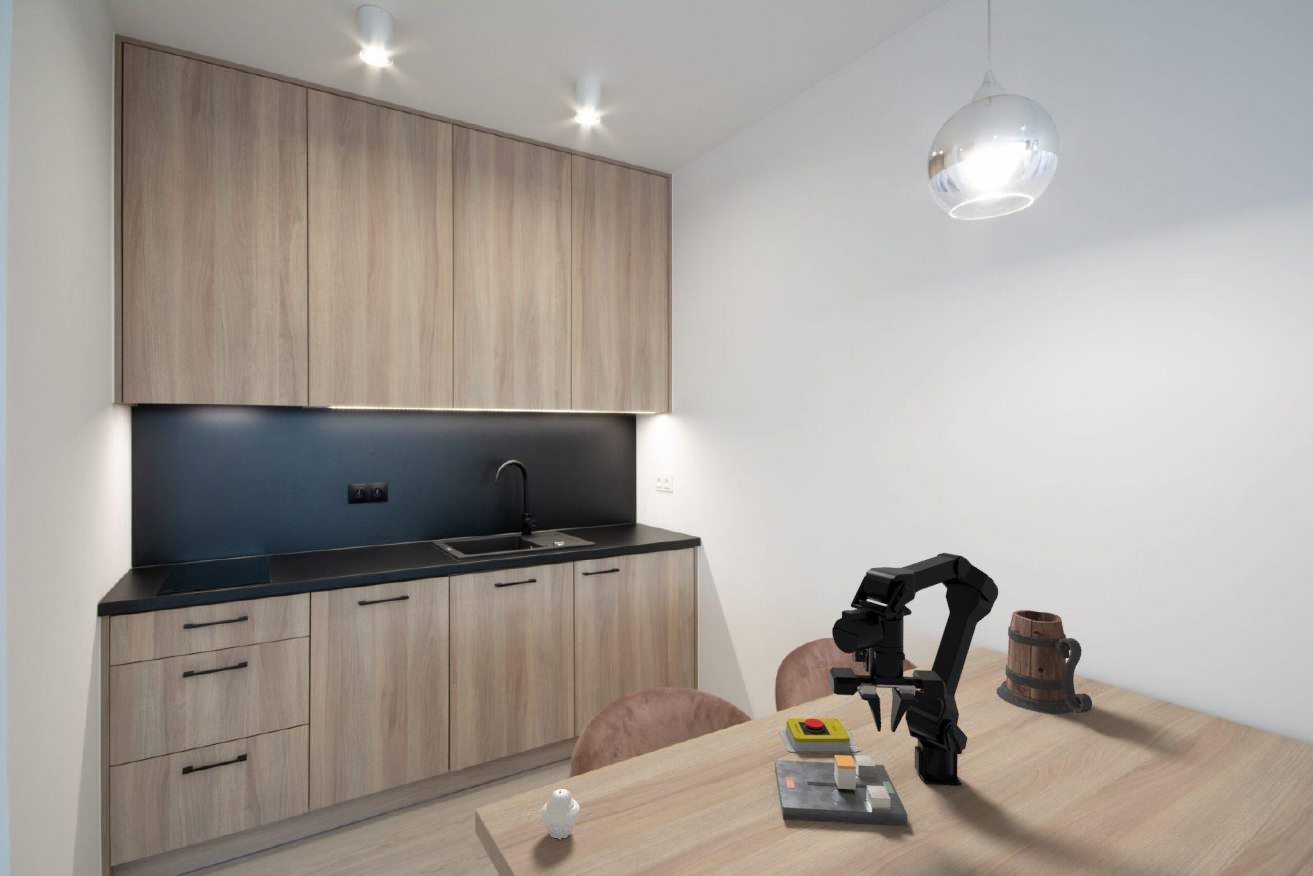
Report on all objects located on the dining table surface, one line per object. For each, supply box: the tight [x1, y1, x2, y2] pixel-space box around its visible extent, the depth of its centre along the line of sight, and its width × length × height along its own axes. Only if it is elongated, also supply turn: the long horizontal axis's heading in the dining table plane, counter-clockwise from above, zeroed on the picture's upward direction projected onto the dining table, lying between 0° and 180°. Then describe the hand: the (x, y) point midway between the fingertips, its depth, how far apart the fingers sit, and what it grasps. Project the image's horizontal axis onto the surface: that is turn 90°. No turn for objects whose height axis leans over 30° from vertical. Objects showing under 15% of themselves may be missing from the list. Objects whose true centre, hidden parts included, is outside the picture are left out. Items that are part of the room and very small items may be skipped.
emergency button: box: [779, 717, 862, 754], centre depth 131 cm, size 9×4×15 cm
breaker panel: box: [774, 754, 908, 827], centre depth 112 cm, size 20×15×4 cm
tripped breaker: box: [833, 754, 856, 789], centre depth 111 cm, size 3×4×4 cm
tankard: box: [995, 609, 1093, 715], centre depth 148 cm, size 24×17×20 cm
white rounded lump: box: [540, 788, 581, 840], centre depth 102 cm, size 6×6×7 cm
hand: (885, 731), depth 111 cm, fingers open, 2 cm apart
